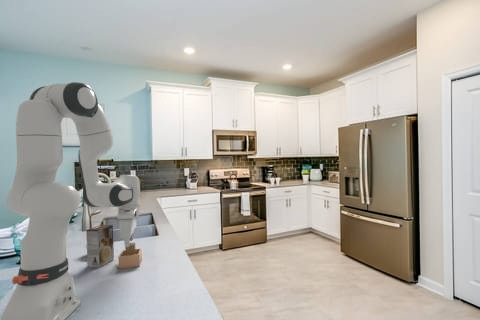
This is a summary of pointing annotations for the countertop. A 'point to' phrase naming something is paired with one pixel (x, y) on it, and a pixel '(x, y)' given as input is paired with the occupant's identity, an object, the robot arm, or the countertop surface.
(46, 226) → the robot arm
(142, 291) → the countertop surface
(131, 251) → the tan plain wooden block
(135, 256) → the peach cubby shelf
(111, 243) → the coffee box
